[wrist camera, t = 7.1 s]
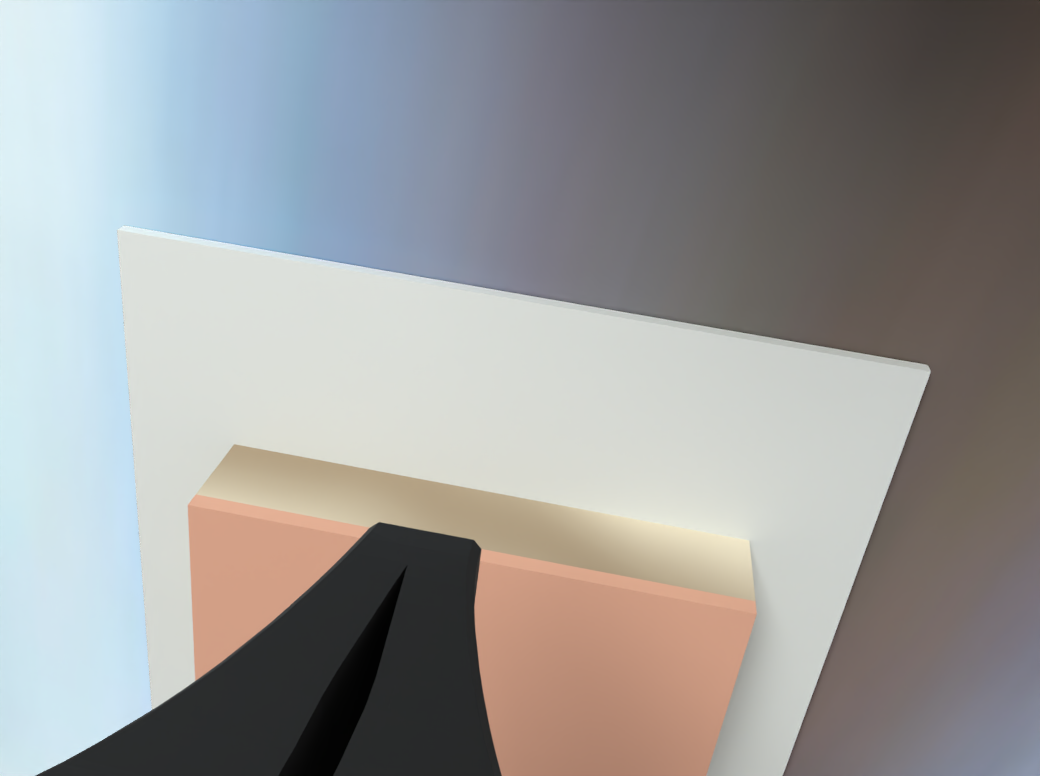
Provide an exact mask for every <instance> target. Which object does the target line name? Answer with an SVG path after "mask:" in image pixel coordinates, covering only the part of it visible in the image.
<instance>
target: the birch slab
mask: <svg viewBox="0 0 1040 776" xmlns="http://www.w3.org/2000/svg"><path fill="white" fill-rule="evenodd" d="M378 522H382V523H387V524H393V525H398V526H403V527H408V528H414V529H419V530H424V531H430V532H435V533H440V534H446V535H451V536H456V537H462V538H467V539H472V540H475V542H476V543H477V544H478V545H479V547H480V548H481V549H482V550H481V557H480V565H479V573H478V581H477V589H476V596H475V604H474V609H475V631H476V641H477V650H478V659H479V669H480V675H481V682H482V689H483V694H484V700H485V705H486V710H487V716H488V721H489V726H490V730H491V735H492V739H493V744H494V748H495V752H496V756H497V760H498V763H499V767H500V771H501V775H502V776H706V775H707V772H708V768H709V765H710V762H711V759H712V756H713V752H714V749H715V746H716V743H717V740H718V736H719V733H720V730H721V727H722V724H723V720H724V717H725V714H726V711H727V708H728V705H729V701H730V698H731V695H732V692H733V689H734V685H735V682H736V679H737V676H738V673H739V669H740V666H741V663H742V660H743V657H744V653H745V650H746V647H747V644H748V641H749V638H750V634H751V631H752V628H753V625H754V622H755V618H756V615H757V611H756V601H755V591H754V581H753V571H752V562H751V552H750V542H749V540H744V539H738V538H733V537H728V536H722V535H717V534H712V533H706V532H701V531H696V530H690V529H685V528H680V527H674V526H669V525H664V524H658V523H653V522H648V521H642V520H637V519H632V518H626V517H621V516H616V515H610V514H605V513H599V512H594V511H589V510H583V509H578V508H573V507H567V506H562V505H557V504H551V503H546V502H541V501H535V500H530V499H525V498H519V497H514V496H509V495H503V494H498V493H493V492H487V491H482V490H477V489H471V488H466V487H461V486H455V485H450V484H444V483H439V482H434V481H428V480H423V479H418V478H412V477H407V476H402V475H396V474H391V473H386V472H380V471H375V470H370V469H364V468H359V467H354V466H348V465H343V464H338V463H332V462H327V461H322V460H316V459H311V458H306V457H300V456H295V455H290V454H284V453H279V452H273V451H268V450H263V449H257V448H252V447H247V446H241V445H236V444H234V445H233V446H232V448H231V449H230V450H229V452H228V453H227V454H226V456H225V457H224V458H223V459H222V461H221V462H220V463H219V465H218V466H217V467H216V469H215V470H214V471H213V473H212V474H211V475H210V476H209V478H208V479H207V480H206V482H205V483H204V484H203V486H202V487H201V488H200V489H199V491H198V492H197V493H196V495H195V496H194V497H193V499H192V500H191V501H190V503H189V504H188V524H189V548H190V571H191V595H192V618H193V641H194V665H195V681H196V680H197V679H199V678H200V677H202V676H203V675H204V674H206V673H207V672H208V671H210V670H211V669H212V668H214V667H215V666H217V665H218V664H219V663H221V662H222V661H223V660H224V659H226V658H227V657H228V656H229V655H231V654H232V653H233V652H234V651H236V650H237V649H238V648H239V647H241V646H242V645H243V644H245V643H246V642H247V641H248V640H250V639H251V638H252V637H253V636H255V635H256V634H257V633H258V632H260V631H261V630H262V629H263V628H265V627H266V626H267V625H268V624H269V623H271V622H272V621H273V620H274V619H275V618H276V617H278V616H279V615H280V614H281V613H282V612H283V611H284V610H285V609H287V608H288V607H289V606H290V605H291V604H292V603H293V602H294V601H295V600H297V599H298V598H299V597H300V596H301V595H302V594H303V593H304V592H306V591H307V590H308V589H309V588H310V587H311V586H312V585H313V584H314V583H315V582H316V581H318V580H319V579H320V578H321V577H322V576H323V575H324V574H325V573H326V572H327V571H328V570H329V569H330V568H331V567H332V566H333V565H334V564H335V563H336V562H337V561H338V560H339V559H340V558H341V557H342V556H343V555H344V554H345V553H346V552H347V551H348V550H349V549H350V548H351V547H352V546H353V545H354V544H355V543H356V542H357V541H358V540H359V539H360V538H361V537H362V535H363V534H364V533H365V532H366V531H367V530H368V529H369V528H370V527H372V526H373V525H375V524H377V523H378Z"/></svg>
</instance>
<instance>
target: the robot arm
mask: <svg viewBox="0 0 1040 776" xmlns="http://www.w3.org/2000/svg"><path fill="white" fill-rule="evenodd" d="M481 550H482V549H481V548H480V547H479V545H478V544H477V543H476V542H475V540H472V539H467V538H462V537H456V536H451V535H446V534H440V533H435V532H430V531H424V530H419V529H414V528H408V527H403V526H398V525H393V524H387V523H382V522H378V523H377V524H375V525H373V526H372V527H370V528H369V529H368V530H367V531H366V532H365V533H364V534H363V535H362V537H361V538H360V539H359V540H358V541H357V542H356V543H355V544H354V545H353V546H352V547H351V548H350V549H349V550H348V551H347V552H346V553H345V554H344V555H343V556H342V557H341V558H340V559H339V560H338V561H337V562H336V563H335V564H334V565H333V566H332V567H331V568H330V569H329V570H328V571H327V572H326V573H325V574H324V575H323V576H322V577H321V578H320V579H319V580H318V581H316V582H315V583H314V584H313V585H312V586H311V587H310V588H309V589H308V590H307V591H306V592H304V593H303V594H302V595H301V596H300V597H299V598H298V599H297V600H295V601H294V602H293V603H292V604H291V605H290V606H289V607H288V608H287V609H285V610H284V611H283V612H282V613H281V614H280V615H279V616H278V617H276V618H275V619H274V620H273V621H272V622H271V623H269V624H268V625H267V626H266V627H265V628H263V629H262V630H261V631H260V632H258V633H257V634H256V635H255V636H253V637H252V638H251V639H250V640H248V641H247V642H246V643H245V644H243V645H242V646H241V647H239V648H238V649H237V650H236V651H234V652H233V653H232V654H231V655H229V656H228V657H227V658H226V659H224V660H223V661H222V662H221V663H219V664H218V665H217V666H215V667H214V668H212V669H211V670H210V671H208V672H207V673H206V674H204V675H203V676H202V677H200V678H199V679H197V680H196V681H195V682H193V683H192V684H190V685H189V686H187V687H186V688H185V689H183V690H182V691H180V692H179V693H177V694H176V695H174V696H173V697H171V698H170V699H168V700H167V701H165V702H164V703H162V704H161V705H159V706H158V707H156V708H155V709H153V710H151V711H150V712H148V713H147V714H145V715H143V716H142V717H140V718H138V719H137V720H135V721H133V722H132V723H130V724H128V725H127V726H125V727H123V728H122V729H120V730H118V731H117V732H115V733H113V734H112V735H110V736H108V737H107V738H105V739H104V740H102V741H100V742H98V743H97V744H95V745H93V746H91V747H90V748H88V749H86V750H84V751H82V752H81V753H79V754H77V755H75V756H73V757H71V758H70V759H68V760H66V761H64V762H62V763H60V764H58V765H56V766H54V767H52V768H50V769H48V770H46V771H44V772H42V773H40V774H38V775H36V776H502V775H501V771H500V767H499V763H498V760H497V756H496V752H495V748H494V744H493V739H492V735H491V730H490V726H489V721H488V716H487V710H486V705H485V700H484V694H483V689H482V682H481V675H480V669H479V659H478V650H477V641H476V631H475V609H474V604H475V596H476V589H477V581H478V573H479V565H480V557H481Z"/></svg>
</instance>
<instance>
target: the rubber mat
mask: <svg viewBox="0 0 1040 776" xmlns="http://www.w3.org/2000/svg"><path fill="white" fill-rule="evenodd" d="M117 235H118V249H119V263H120V277H121V290H122V304H123V318H124V332H125V345H126V359H127V373H128V387H129V400H130V414H131V428H132V442H133V456H134V469H135V483H136V497H137V511H138V524H139V538H140V552H141V566H142V579H143V593H144V607H145V621H146V634H147V648H148V662H149V676H150V690H151V703H152V710H153V709H155V708H156V707H158V706H159V705H161V704H162V703H164V702H165V701H167V700H168V699H170V698H171V697H173V696H174V695H176V694H177V693H179V692H180V691H182V690H183V689H185V688H186V687H187V686H189V685H190V684H192V683H193V682H195V665H194V641H193V618H192V595H191V571H190V548H189V524H188V504H189V503H190V501H191V500H192V499H193V497H194V496H195V495H196V493H197V492H198V491H199V489H200V488H201V487H202V486H203V484H204V483H205V482H206V480H207V479H208V478H209V476H210V475H211V474H212V473H213V471H214V470H215V469H216V467H217V466H218V465H219V463H220V462H221V461H222V459H223V458H224V457H225V456H226V454H227V453H228V452H229V450H230V449H231V448H232V446H233V445H234V444H236V445H241V446H247V447H252V448H257V449H263V450H268V451H273V452H279V453H284V454H290V455H295V456H300V457H306V458H311V459H316V460H322V461H327V462H332V463H338V464H343V465H348V466H354V467H359V468H364V469H370V470H375V471H380V472H386V473H391V474H396V475H402V476H407V477H412V478H418V479H423V480H428V481H434V482H439V483H444V484H450V485H455V486H461V487H466V488H471V489H477V490H482V491H487V492H493V493H498V494H503V495H509V496H514V497H519V498H525V499H530V500H535V501H541V502H546V503H551V504H557V505H562V506H567V507H573V508H578V509H583V510H589V511H594V512H599V513H605V514H610V515H616V516H621V517H626V518H632V519H637V520H642V521H648V522H653V523H658V524H664V525H669V526H674V527H680V528H685V529H690V530H696V531H701V532H706V533H712V534H717V535H722V536H728V537H733V538H738V539H744V540H749V542H750V552H751V562H752V571H753V581H754V591H755V601H756V611H757V615H756V618H755V622H754V625H753V628H752V631H751V634H750V638H749V641H748V644H747V647H746V650H745V653H744V657H743V660H742V663H741V666H740V669H739V673H738V676H737V679H736V682H735V685H734V689H733V692H732V695H731V698H730V701H729V705H728V708H727V711H726V714H725V717H724V720H723V724H722V727H721V730H720V733H719V736H718V740H717V743H716V746H715V749H714V752H713V756H712V759H711V762H710V765H709V768H708V772H707V775H706V776H783V773H784V770H785V768H786V765H787V762H788V760H789V757H790V754H791V751H792V749H793V746H794V743H795V740H796V738H797V735H798V732H799V730H800V727H801V724H802V721H803V719H804V716H805V713H806V710H807V708H808V705H809V702H810V700H811V697H812V694H813V691H814V689H815V686H816V683H817V681H818V678H819V675H820V672H821V670H822V667H823V664H824V661H825V659H826V656H827V653H828V651H829V648H830V645H831V642H832V640H833V637H834V634H835V632H836V629H837V626H838V623H839V621H840V618H841V615H842V612H843V610H844V607H845V604H846V602H847V599H848V596H849V593H850V591H851V588H852V585H853V582H854V580H855V577H856V574H857V572H858V569H859V566H860V563H861V561H862V558H863V555H864V553H865V550H866V547H867V544H868V542H869V539H870V536H871V533H872V531H873V528H874V525H875V523H876V520H877V517H878V514H879V512H880V509H881V506H882V503H883V501H884V498H885V495H886V493H887V490H888V487H889V484H890V482H891V479H892V476H893V474H894V471H895V468H896V465H897V463H898V460H899V457H900V454H901V452H902V449H903V446H904V444H905V441H906V438H907V435H908V433H909V430H910V427H911V424H912V422H913V419H914V416H915V414H916V411H917V408H918V405H919V403H920V400H921V397H922V395H923V392H924V389H925V386H926V384H927V381H928V378H929V375H930V373H931V371H930V369H929V367H928V365H925V364H919V363H914V362H908V361H902V360H896V359H891V358H885V357H879V356H873V355H868V354H862V353H856V352H850V351H845V350H839V349H833V348H827V347H822V346H816V345H810V344H804V343H798V342H793V341H787V340H781V339H775V338H770V337H764V336H758V335H752V334H747V333H741V332H735V331H729V330H724V329H718V328H712V327H706V326H701V325H695V324H689V323H683V322H678V321H672V320H666V319H660V318H655V317H649V316H643V315H637V314H631V313H626V312H620V311H614V310H608V309H603V308H597V307H591V306H585V305H580V304H574V303H568V302H562V301H557V300H551V299H545V298H539V297H534V296H528V295H522V294H516V293H511V292H505V291H499V290H493V289H487V288H482V287H476V286H470V285H464V284H459V283H453V282H447V281H441V280H436V279H430V278H424V277H418V276H413V275H407V274H401V273H395V272H390V271H384V270H378V269H372V268H367V267H361V266H355V265H349V264H344V263H338V262H332V261H326V260H320V259H315V258H309V257H303V256H297V255H292V254H286V253H280V252H274V251H269V250H263V249H257V248H251V247H246V246H240V245H234V244H228V243H223V242H217V241H211V240H205V239H200V238H194V237H188V236H182V235H176V234H171V233H165V232H159V231H153V230H148V229H142V228H136V227H130V226H125V225H124V226H122V227H121V228H119V229H118V230H117Z"/></svg>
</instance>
